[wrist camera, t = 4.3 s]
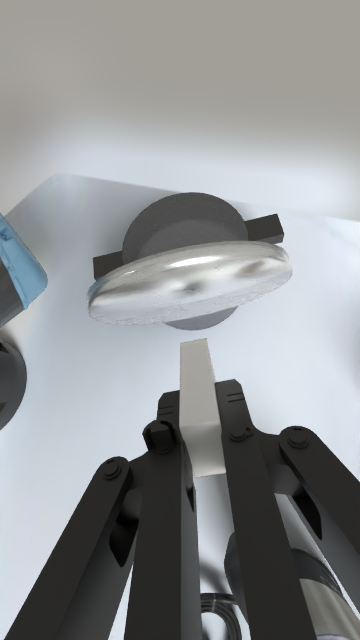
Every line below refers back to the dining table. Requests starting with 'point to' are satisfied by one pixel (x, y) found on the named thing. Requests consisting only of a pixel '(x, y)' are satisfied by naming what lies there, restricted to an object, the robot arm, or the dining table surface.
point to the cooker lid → (188, 282)
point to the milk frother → (318, 587)
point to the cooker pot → (188, 237)
